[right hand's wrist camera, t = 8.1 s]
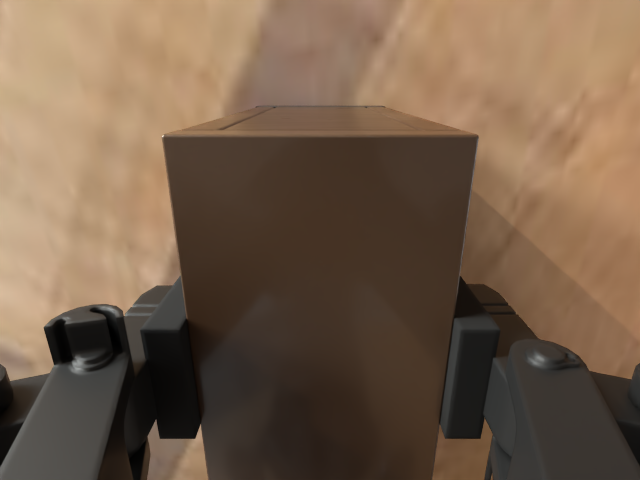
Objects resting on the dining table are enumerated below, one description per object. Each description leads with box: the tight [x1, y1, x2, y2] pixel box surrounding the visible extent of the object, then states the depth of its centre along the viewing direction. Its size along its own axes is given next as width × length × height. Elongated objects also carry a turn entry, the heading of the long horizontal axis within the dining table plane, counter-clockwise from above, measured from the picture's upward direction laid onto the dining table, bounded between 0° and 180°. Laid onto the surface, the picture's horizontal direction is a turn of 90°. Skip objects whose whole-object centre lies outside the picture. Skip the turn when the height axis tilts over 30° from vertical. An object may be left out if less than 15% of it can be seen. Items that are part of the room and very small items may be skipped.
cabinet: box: [162, 106, 479, 480], centre depth 15 cm, size 17×5×11 cm, turn 0°
